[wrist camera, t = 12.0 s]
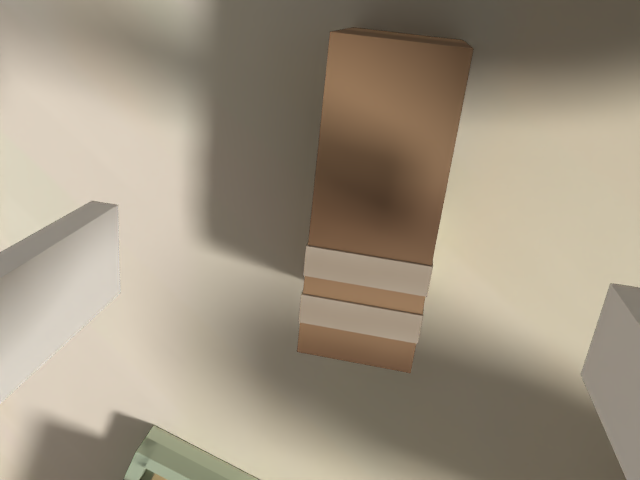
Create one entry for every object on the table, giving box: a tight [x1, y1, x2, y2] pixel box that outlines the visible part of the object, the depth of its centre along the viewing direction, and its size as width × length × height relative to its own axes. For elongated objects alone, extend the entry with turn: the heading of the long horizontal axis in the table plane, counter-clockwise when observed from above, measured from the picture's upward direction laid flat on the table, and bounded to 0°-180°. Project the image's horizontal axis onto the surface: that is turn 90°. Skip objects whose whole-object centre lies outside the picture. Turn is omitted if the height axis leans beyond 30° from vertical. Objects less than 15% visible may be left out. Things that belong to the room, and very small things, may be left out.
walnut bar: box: [297, 27, 473, 373], centre depth 23 cm, size 12×5×6 cm, turn 174°
